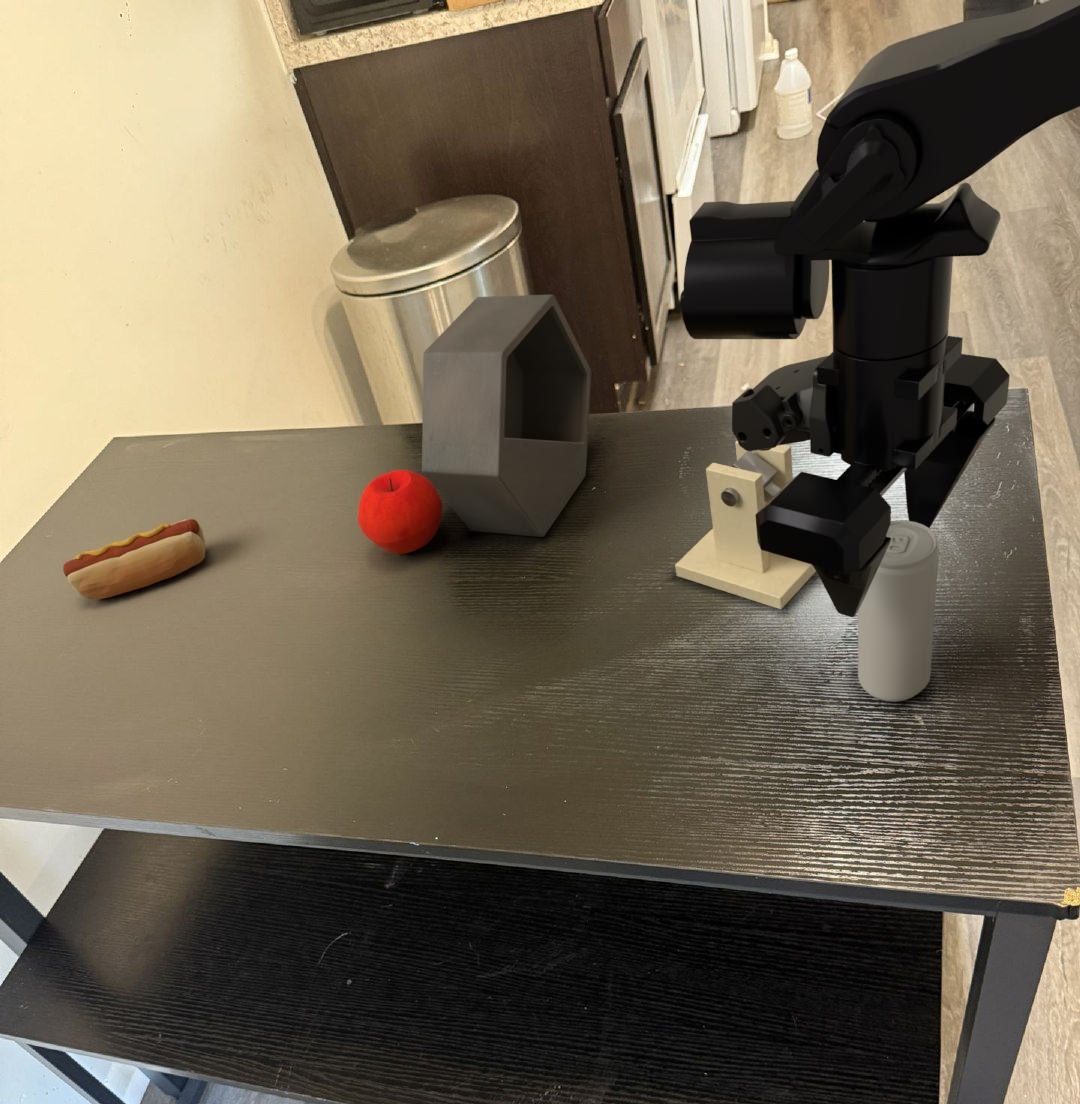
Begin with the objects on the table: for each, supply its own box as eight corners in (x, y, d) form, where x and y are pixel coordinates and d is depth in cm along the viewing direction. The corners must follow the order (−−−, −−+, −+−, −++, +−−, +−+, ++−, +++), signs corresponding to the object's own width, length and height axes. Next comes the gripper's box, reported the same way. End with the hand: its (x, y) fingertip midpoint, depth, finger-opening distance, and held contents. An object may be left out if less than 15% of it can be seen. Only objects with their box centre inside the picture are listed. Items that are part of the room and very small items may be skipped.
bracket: (840, 545, 82) (838, 438, 75) (781, 610, 78) (773, 504, 71) (736, 517, 88) (725, 416, 81) (676, 576, 84) (660, 475, 77)
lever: (871, 552, 78) (885, 533, 76) (838, 589, 76) (852, 571, 73) (748, 460, 80) (759, 439, 78) (712, 494, 78) (722, 473, 76)
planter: (496, 542, 85) (505, 277, 79) (420, 535, 88) (423, 281, 83) (583, 532, 99) (595, 308, 94) (515, 527, 103) (523, 310, 97)
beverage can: (936, 663, 71) (946, 521, 62) (922, 711, 68) (931, 569, 60) (865, 654, 73) (866, 516, 65) (849, 700, 70) (848, 562, 62)
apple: (408, 580, 92) (382, 513, 87) (356, 557, 97) (328, 492, 92) (469, 533, 96) (447, 465, 90) (415, 512, 100) (391, 447, 95)
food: (83, 616, 100) (55, 577, 97) (86, 587, 104) (59, 548, 101) (216, 569, 101) (193, 528, 98) (213, 541, 105) (192, 501, 102)
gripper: (840, 245, 61) (843, 467, 72) (659, 397, 53) (693, 621, 64) (1026, 260, 55) (999, 501, 66) (853, 436, 47) (854, 678, 58)
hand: (884, 570), depth 63 cm, fingers open, 9 cm apart
